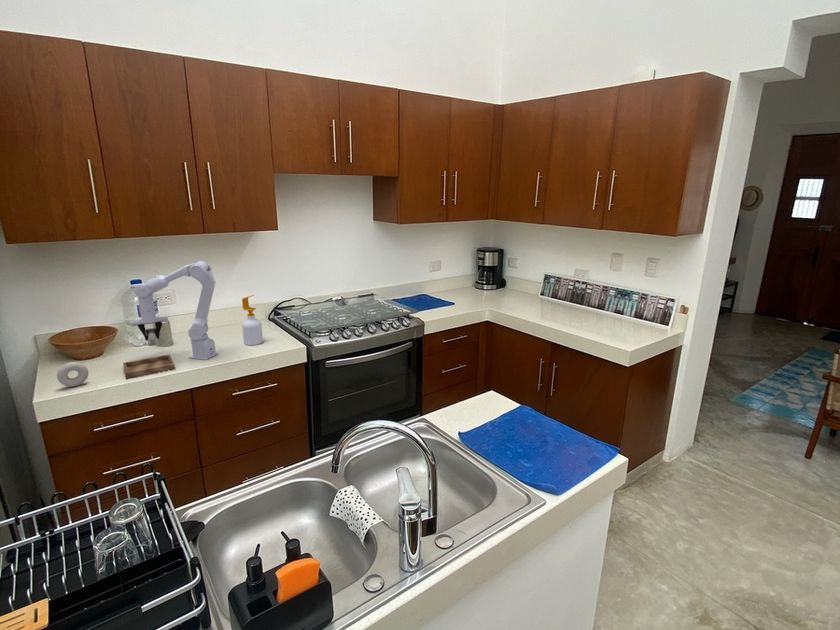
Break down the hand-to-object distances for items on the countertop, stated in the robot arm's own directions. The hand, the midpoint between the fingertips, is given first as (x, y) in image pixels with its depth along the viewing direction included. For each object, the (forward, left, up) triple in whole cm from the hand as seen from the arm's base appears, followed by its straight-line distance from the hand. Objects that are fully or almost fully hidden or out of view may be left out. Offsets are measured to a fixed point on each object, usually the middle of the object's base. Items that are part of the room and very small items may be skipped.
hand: (152, 339), depth 206 cm
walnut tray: (-7, +11, -9) cm, 16 cm away
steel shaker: (0, 0, -2) cm, 2 cm away
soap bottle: (-30, -31, -10) cm, 45 cm away
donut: (+7, +33, -10) cm, 35 cm away
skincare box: (+10, -16, -10) cm, 21 cm away
